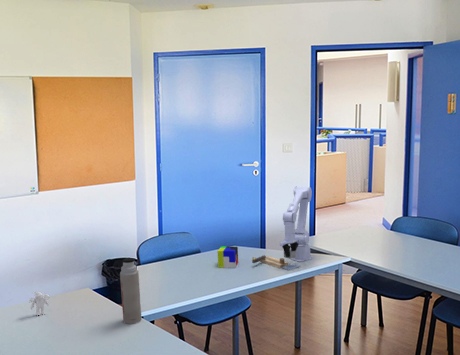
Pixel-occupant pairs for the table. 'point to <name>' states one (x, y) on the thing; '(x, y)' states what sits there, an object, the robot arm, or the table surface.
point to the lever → (258, 259)
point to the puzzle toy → (227, 257)
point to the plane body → (275, 262)
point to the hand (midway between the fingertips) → (290, 256)
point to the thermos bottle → (130, 292)
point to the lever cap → (291, 254)
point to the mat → (290, 267)
